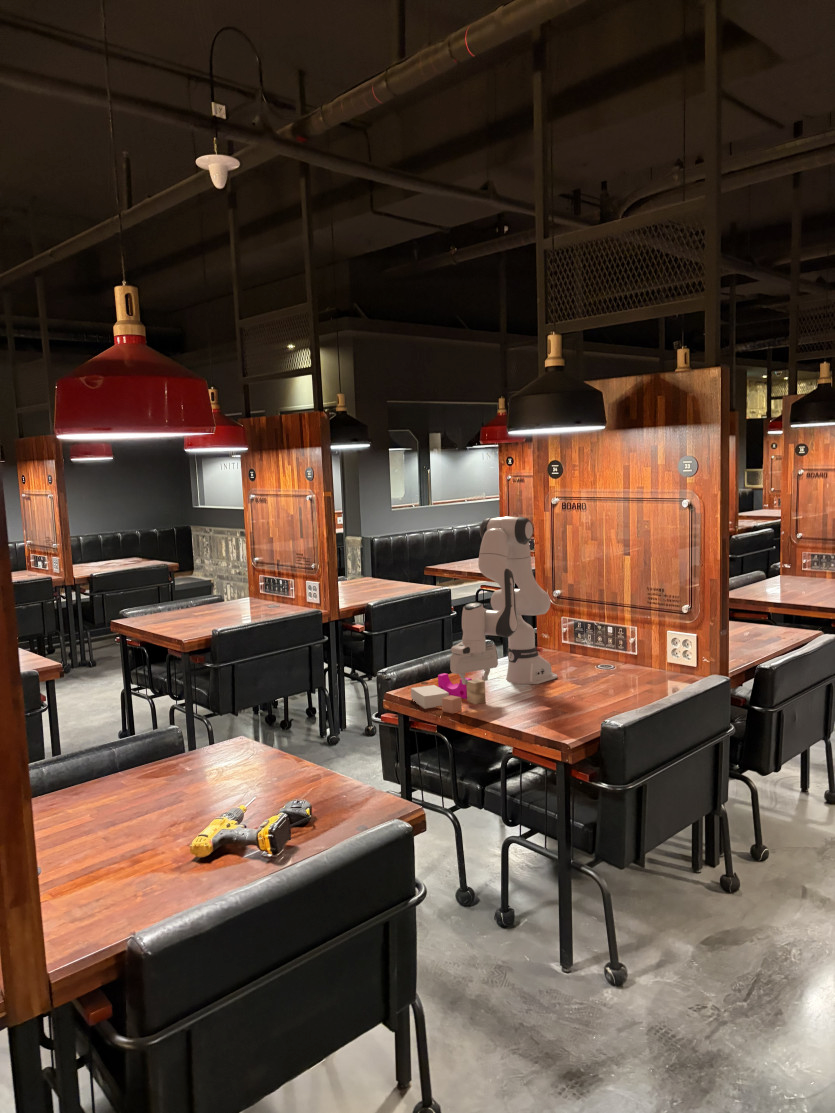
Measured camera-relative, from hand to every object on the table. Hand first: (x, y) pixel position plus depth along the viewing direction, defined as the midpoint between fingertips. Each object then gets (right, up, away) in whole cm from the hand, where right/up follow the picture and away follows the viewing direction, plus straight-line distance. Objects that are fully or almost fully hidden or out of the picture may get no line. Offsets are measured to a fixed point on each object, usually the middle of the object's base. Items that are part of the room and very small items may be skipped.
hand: (475, 682), depth 304 cm
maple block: (+1, -8, +1) cm, 8 cm away
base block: (-17, -9, +3) cm, 19 cm away
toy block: (-6, -7, +13) cm, 16 cm away
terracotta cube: (-9, -9, -10) cm, 16 cm away
